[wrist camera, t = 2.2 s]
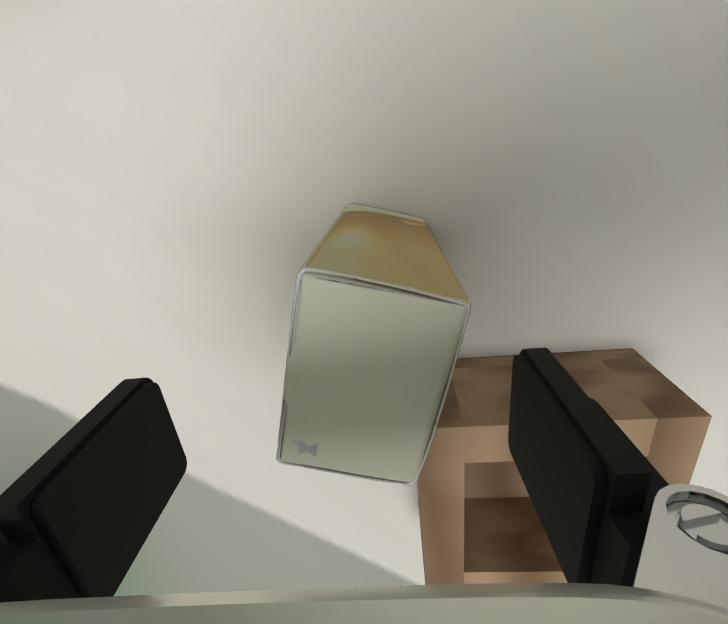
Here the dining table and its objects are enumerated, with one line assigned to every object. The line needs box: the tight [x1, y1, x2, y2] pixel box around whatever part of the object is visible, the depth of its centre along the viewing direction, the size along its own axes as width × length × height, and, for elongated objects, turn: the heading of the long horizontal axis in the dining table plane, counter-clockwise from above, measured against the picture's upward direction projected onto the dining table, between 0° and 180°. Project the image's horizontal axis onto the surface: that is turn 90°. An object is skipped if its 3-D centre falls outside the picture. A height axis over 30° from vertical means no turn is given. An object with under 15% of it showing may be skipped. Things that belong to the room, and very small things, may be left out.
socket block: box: [417, 349, 712, 585], centre depth 23 cm, size 13×13×6 cm
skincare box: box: [276, 204, 471, 486], centre depth 16 cm, size 6×4×12 cm
